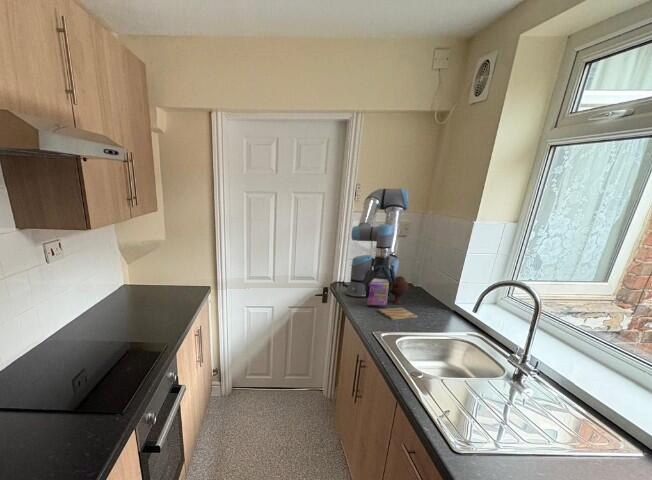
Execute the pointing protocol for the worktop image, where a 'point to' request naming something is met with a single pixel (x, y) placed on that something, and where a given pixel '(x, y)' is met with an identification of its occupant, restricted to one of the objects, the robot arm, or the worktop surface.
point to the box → (378, 293)
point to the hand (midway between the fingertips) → (377, 296)
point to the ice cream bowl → (399, 289)
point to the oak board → (397, 313)
